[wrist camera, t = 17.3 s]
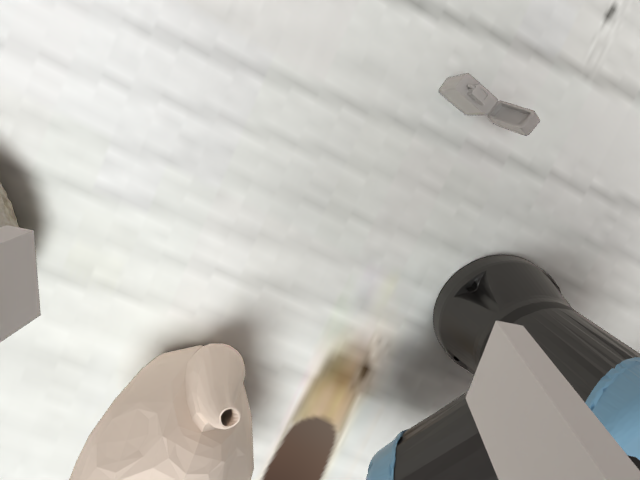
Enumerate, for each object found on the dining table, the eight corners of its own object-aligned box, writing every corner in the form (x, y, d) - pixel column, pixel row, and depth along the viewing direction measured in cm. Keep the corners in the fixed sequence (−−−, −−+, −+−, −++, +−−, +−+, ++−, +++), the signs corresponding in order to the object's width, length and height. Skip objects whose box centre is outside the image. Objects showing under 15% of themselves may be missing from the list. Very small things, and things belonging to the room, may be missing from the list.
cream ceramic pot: (312, 323, 46) (326, 455, 28) (206, 470, 52) (162, 656, 34) (196, 260, 43) (128, 365, 25) (96, 426, 48) (-17, 608, 31)
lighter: (437, 91, 39) (473, 85, 31) (448, 76, 38) (487, 66, 31) (486, 133, 41) (531, 136, 33) (497, 119, 40) (545, 119, 33)
